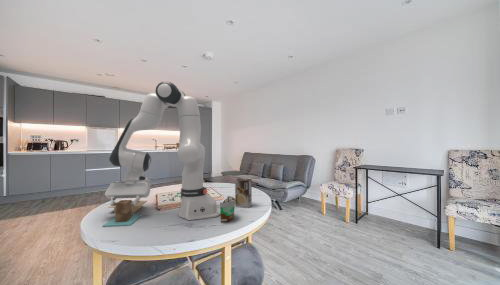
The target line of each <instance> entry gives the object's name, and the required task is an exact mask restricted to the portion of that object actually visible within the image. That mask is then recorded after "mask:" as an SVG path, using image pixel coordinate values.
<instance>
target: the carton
mask: <svg viewBox="0 0 500 285" xmlns="http://www.w3.org/2000/svg"><path fill="white" fill-rule="evenodd" d="M147 202H148V200H139V201H138V202H137V203H136V205H132V214H134V213H137V211H138V210H140V209H142V207H143V205H145V204H146V203H147ZM111 208H112V209H113V214H115V206H111V205H110V206H108V209H111Z"/></svg>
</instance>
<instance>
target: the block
mask: <svg viewBox="0 0 500 285" xmlns="http://www.w3.org/2000/svg"><path fill="white" fill-rule="evenodd" d="M132 201H133V200H132V199H123V200H122V199H120V200H119V201H117V202H116V203H115V213H114V218H115V222H127V221H128V220H129V219H131V218H132V215H133V213H132V205H131V203H132Z"/></svg>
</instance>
